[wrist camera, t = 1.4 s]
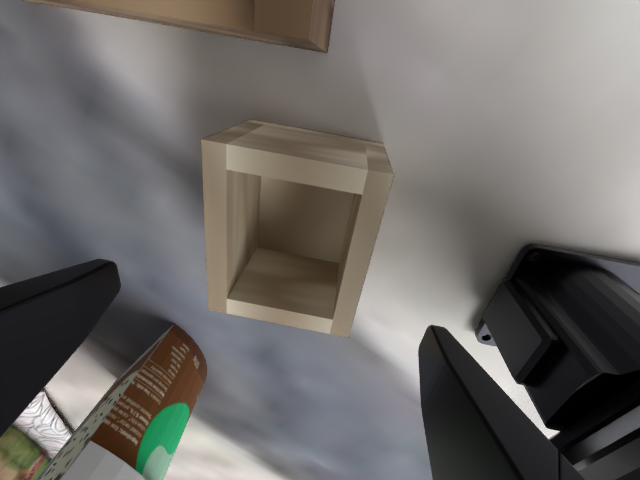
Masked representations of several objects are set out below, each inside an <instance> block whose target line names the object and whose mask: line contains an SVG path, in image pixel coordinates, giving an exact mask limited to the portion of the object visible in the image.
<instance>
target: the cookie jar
mask: <svg viewBox="0 0 640 480" xmlns="http://www.w3.org/2000/svg"><path fill="white" fill-rule="evenodd" d="M71 436H72V433H71V431H70V430H69V429H68V427H67V426H66V425H65V423H64V422H63V421H62V419H61V418H60V417H59V416H58V414H57V413H56V412H55V410H54V409H53V408H52V406H51V405H50V403H49V400H48V398H47V396H46V394H45V392H43V391H40V393H39V394H38V395H37V396H36V397H35V398H34V400H33V401H32V402H31V403H30V404H29V405H28V407H27V408H26V409H25V410H24V411H23V412H22V414H21V415H20V416H19V417H18V418H17V419H16V421H15V422H14V423H13V424H12V425H11V426H10V428H9V429H8V430H7V431H6V432H5V433H4V435H3V436H2V437H1V438H0V480H36V479H37V478H38V476H39V475H40V474H41V473H42V471H43V470H44V469H45V468H46V466H47V465H48V464H49V463H50V462H51V460H52V459H53V458H54V457H55V455H56V454H57V453H58V452H59V450H60V449H61V448H62V447H63V445H64V444H65V443H66V442H67V441H68V439H69V438H70V437H71Z"/></svg>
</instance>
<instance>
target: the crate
mask: <svg viewBox="0 0 640 480" xmlns="http://www.w3.org/2000/svg"><path fill="white" fill-rule="evenodd" d="M24 1H30V2H36V3H42V4H48V5H53V6H59V7H65V8H71V9H76V10H82V11H88V12H94V13H100V14H105V15H111V16H117V17H123V18H129V19H134V20H140V21H146V22H152V23H157V24H163V25H169V26H175V27H181V28H186V29H192V30H198V31H204V32H209V33H215V34H221V35H227V36H233V37H238V38H244V39H250V40H256V41H261V42H267V43H273V44H279V45H285V46H290V47H296V48H302V49H308V50H313V51H319V52H325V53H328V46H329V38H330V31H331V24H332V17H333V10H334V3H335V0H24Z"/></svg>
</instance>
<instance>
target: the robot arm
mask: <svg viewBox="0 0 640 480" xmlns="http://www.w3.org/2000/svg"><path fill="white" fill-rule="evenodd" d="M535 252H537V253H536V254H535V255H534V256H532V257H529V256H530V255H531V254H532V253H535ZM120 287H121V283H120V278H119V274H118V269H117V265H116V264H115V262H113V261H109V260H104V259H96V260H92V261H89V262H86V263H82V264H79V265H75V266H72V267H69V268H65V269H62V270H58V271H55V272H51V273H48V274H45V275H41V276H38V277H34V278H31V279H28V280H24V281H21V282H17V283H14V284H11V285H7V286H4V287H0V438H1V437H2V436H3V435H4V433H5V432H6V431H7V430H8V429H9V428H10V426H11V425H12V424H13V423H14V422H15V421H16V419H17V418H18V417H19V416H20V415H21V414H22V412H23V411H24V410H25V409H26V408H27V407H28V405H29V404H30V403H31V402H32V401H33V400H34V398H35V397H36V396H37V395H38V394H39V393H40V391H41V390H42V389H43V388H44V387H45V386H46V385H47V383H48V382H49V381H50V380H51V379H52V378H53V376H54V375H55V374H56V373H57V372H58V371H59V369H60V368H61V367H62V366H63V365H64V364H65V362H66V361H67V360H68V359H69V358H70V357H71V355H72V354H73V353H74V352H75V351H76V350H77V348H78V347H79V346H80V345H81V344H82V342H83V341H84V340H85V339H86V337H87V336H88V335H89V333H90V332H91V331H92V329H93V328H94V327H95V325H96V324H97V322H98V321H99V320H100V318H101V317H102V315H103V314H104V312H105V311H106V310H107V308H108V307H109V305H110V304H111V303H112V301H113V300H114V298H115V297H116V295H117V294H118V292H119V290H120ZM482 317H483V318H482V320H481V322H480V323H479V325H478V327H477V329H476V330H475V336H476V338H477V340H478V341H479V342H480V343H482V344H487V345H492V346H497V347H498V349H499V351H500V353H501V355H502V357H503V359H504V361H505V363H506V365H507V367H508V369H509V371H510V373H511V375H512V377H513V378H514V380H515V382H516V383H517V384H521V385H524V387H525V389H526V391H527V392H528V394H529V396H530V398H531V400H532V402H533V404H534V406H535V408H536V409H537V411H538V413H539V415H540V417H541V419H542V421H543V423H544V425H545V426H546V428H549V429H553V430H558V431H560V432H559V433H557V434H556V435H554V436H553V437H551V438H550V439H547V437H546V436H545V435H544V434H543V433H542V432H541V431H540V430H539V429H538V428H537V427H536V426H535V424H534V423H533V422H532V421H531V420H530V419H529V418H528V417H527V416H526V415H525V414H524V413H523V411H522V410H521V409H520V408H519V407H518V406H517V405H516V404H515V403H514V402H513V401H512V399H511V398H510V397H509V396H508V395H507V394H506V393H505V392H504V391H503V390H502V389H501V388H500V386H499V385H498V384H497V383H496V382H495V381H494V380H493V379H492V378H491V377H490V376H489V375H488V373H487V372H486V371H485V370H484V369H483V368H482V367H481V366H480V365H479V364H478V363H477V362H476V360H475V359H474V358H473V357H472V356H471V355H470V354H469V353H468V352H467V351H466V350H465V349H464V347H463V346H462V345H461V344H460V343H459V342H458V341H457V340H456V339H455V338H454V337H453V336H452V334H451V333H450V332H449V331H448V330H447V329H446V328H444V327H440V326H435V325H430V326H428V328H427V330H426V332H425V334H424V336H423V339H422V341H421V343H420V345H419V351H418V355H419V374H420V394H421V408H422V415H423V422H424V428H425V434H426V440H427V446H428V453H429V459H430V465H431V471H432V477H433V480H640V263H635V262H630V261H625V260H619V259H614V258H609V257H603V256H598V255H593V254H587V253H582V252H577V251H571V250H566V249H561V248H555V247H550V246H545V245H539V244H529V245H527V246H525V247H523V249H522V250H521V251H520V253H519V255H518V256H517V258H516V260H515V262H514V263H513V265H512V267H511V269H510V270H509V272H508V274H507V276H506V278H505V279H504V281H502V282H501V284H500V286H499V287H498V289H497V291H496V293H495V295H494V296H493V298H492V300H491V302H490V303H489V305H488V307H487V309H486V310H485V312H484V314H483V316H482ZM486 334H487V335H486ZM483 335H485V336H483Z"/></svg>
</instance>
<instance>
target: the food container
mask: <svg viewBox="0 0 640 480" xmlns="http://www.w3.org/2000/svg"><path fill="white" fill-rule="evenodd" d="M206 375H207V365H206V360H205V358H204V355H203V353H202V352H201V350H200V348H199V347H198V345H197V344H196V343H195V342H194V341H193V339H192V338H191V337H190V336H189V335H188V334H187V333H186V332H184V331H183V330H182V329H181V328H179V327H178V326H177V325H175V324H173V325H172V326H171V327H170V328H169V329H168V330H167V331H166V332H165V333H164V334H163V335H162V336H161V337H160V338H159V339H158V340H157V341H156V342H155V343H154V344H153V345H152V346H151V347H149V348H148V349H147V350H146V351H145V352H144V353H143V354H142V355H141V356H140V357H139V358H138V359H137V360H136V361H135V362H134V363H133V364H132V365H131V366H130V367H129V368H128V369H127V370H126V371H125V372H124V373H123V374H122V375H121V376H120V377H119V378H118V379H117V380H116V381H115V383H114V384H113V385H112V386H111V387H110V389H109V390H108V391H107V392H106V394H105V395H104V396H103V397H102V399H101V400H100V401H99V402H98V404H97V405H96V406H95V407H94V408H93V410H92V411H91V412H90V413H89V415H88V416H87V417H86V418H85V420H84V421H83V422H82V423H81V424H80V426H79V427H78V428H77V429H76V431H75V432H74V433H73V434H72V436H71V437H70V438H69V439H68V441H67V442H66V443H65V444H64V445H63V447H62V448H61V449H60V450H59V452H58V453H57V454H56V455H55V457H54V458H53V459H52V460H51V462H50V463H49V464H48V465H47V466H46V468H45V469H44V470H43V471H42V473H41V474H40V475H39V476H38V478H37V479H36V480H163V479H164V477H165V474H166V472H167V470H168V467H169V465H170V463H171V460H172V458H173V455H174V453H175V451H176V448H177V446H178V443H179V441H180V439H181V436H182V434H183V432H184V429H185V427H186V424H187V422H188V420H189V417H190V415H191V412H192V410H193V408H194V405H195V403H196V401H197V398H198V396H199V393H200V391H201V389H202V386H203V384H204V381H205V379H206Z"/></svg>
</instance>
